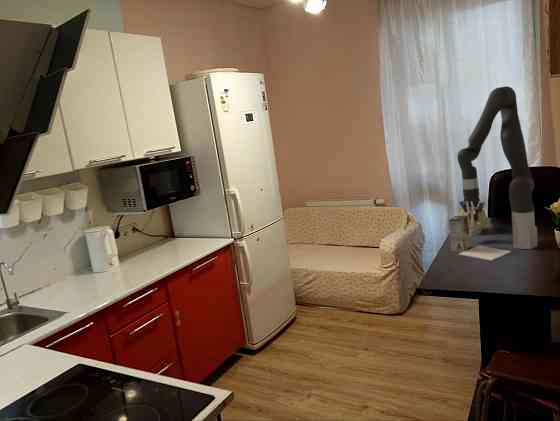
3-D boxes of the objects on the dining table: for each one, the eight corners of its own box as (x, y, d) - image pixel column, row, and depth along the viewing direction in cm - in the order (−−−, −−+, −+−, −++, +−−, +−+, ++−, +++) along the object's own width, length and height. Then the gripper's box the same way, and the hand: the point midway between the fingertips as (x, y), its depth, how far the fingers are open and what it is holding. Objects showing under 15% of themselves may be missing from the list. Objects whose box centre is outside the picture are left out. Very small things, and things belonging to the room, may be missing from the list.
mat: (511, 252, 210) (511, 251, 210) (491, 260, 202) (491, 259, 202) (478, 246, 224) (478, 245, 224) (458, 254, 217) (458, 253, 217)
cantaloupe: (470, 236, 243) (468, 209, 240) (453, 231, 257) (451, 205, 254) (494, 231, 246) (492, 204, 244) (475, 226, 260) (474, 201, 258)
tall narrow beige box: (481, 232, 234) (479, 207, 232) (471, 236, 230) (469, 211, 228) (478, 232, 235) (475, 207, 233) (468, 235, 232) (465, 211, 229)
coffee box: (457, 246, 230) (455, 215, 227) (470, 246, 226) (468, 215, 223) (451, 251, 223) (448, 219, 221) (464, 252, 219) (462, 220, 216)
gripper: (487, 186, 225) (490, 220, 227) (463, 185, 236) (466, 218, 239) (478, 189, 221) (481, 223, 224) (454, 188, 233) (457, 221, 236)
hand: (473, 220), depth 231 cm, fingers closed on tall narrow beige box, 2 cm apart
